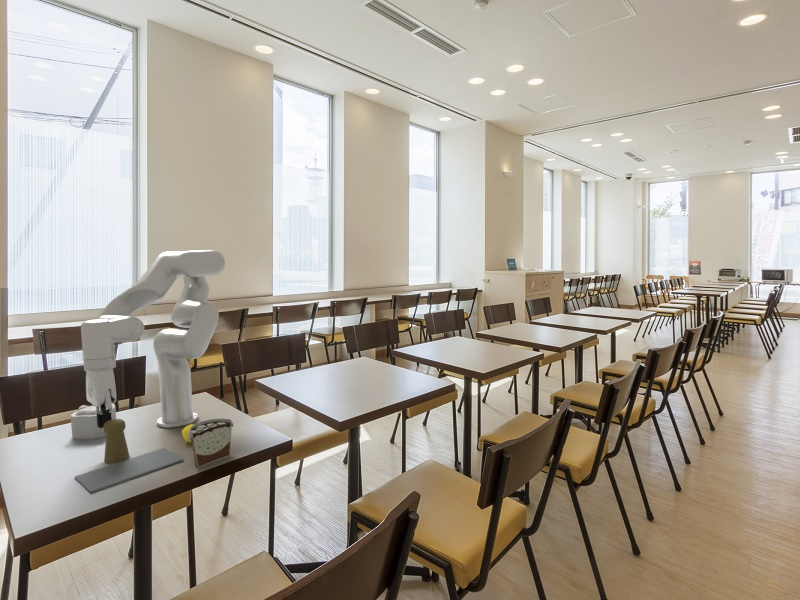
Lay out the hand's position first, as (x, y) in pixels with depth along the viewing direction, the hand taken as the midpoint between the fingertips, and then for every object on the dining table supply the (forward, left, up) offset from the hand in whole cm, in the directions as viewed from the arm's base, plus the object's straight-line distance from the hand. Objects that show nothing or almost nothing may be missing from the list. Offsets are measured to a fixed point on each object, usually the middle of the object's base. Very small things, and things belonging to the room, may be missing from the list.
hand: (104, 426), depth 132 cm
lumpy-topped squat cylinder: (-20, +4, -8) cm, 22 cm away
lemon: (+13, +19, -8) cm, 24 cm away
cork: (+8, 0, -8) cm, 11 cm away
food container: (+28, +16, -8) cm, 33 cm away
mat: (+18, 0, -8) cm, 19 cm away
